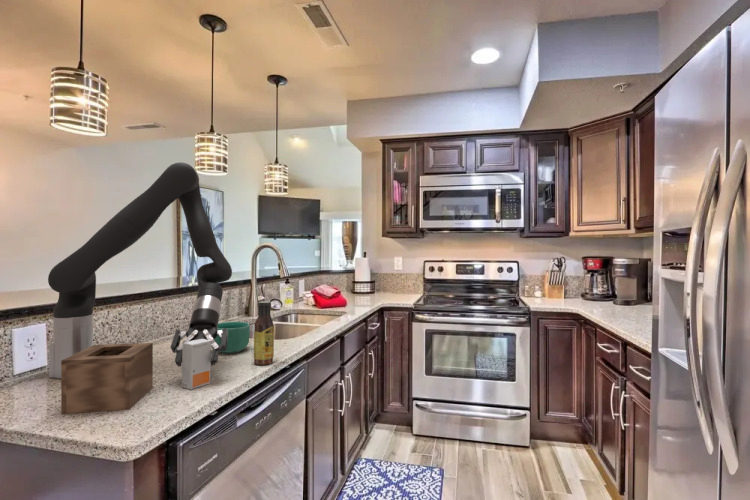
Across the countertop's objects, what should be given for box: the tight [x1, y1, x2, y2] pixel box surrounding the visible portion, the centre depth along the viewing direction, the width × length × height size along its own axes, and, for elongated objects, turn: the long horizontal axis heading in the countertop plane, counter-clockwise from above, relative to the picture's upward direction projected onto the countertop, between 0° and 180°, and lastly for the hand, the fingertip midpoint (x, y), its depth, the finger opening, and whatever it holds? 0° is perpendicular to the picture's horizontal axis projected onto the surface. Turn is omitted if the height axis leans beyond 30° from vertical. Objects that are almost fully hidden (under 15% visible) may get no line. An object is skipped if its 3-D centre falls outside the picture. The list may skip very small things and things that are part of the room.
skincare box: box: [181, 339, 212, 390], centre depth 106 cm, size 6×4×12 cm
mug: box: [214, 321, 251, 354], centre depth 140 cm, size 17×13×10 cm
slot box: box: [60, 342, 154, 415], centre depth 95 cm, size 14×14×12 cm
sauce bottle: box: [253, 300, 275, 366], centre depth 126 cm, size 6×6×20 cm
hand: (195, 364), depth 105 cm, fingers open, 8 cm apart
